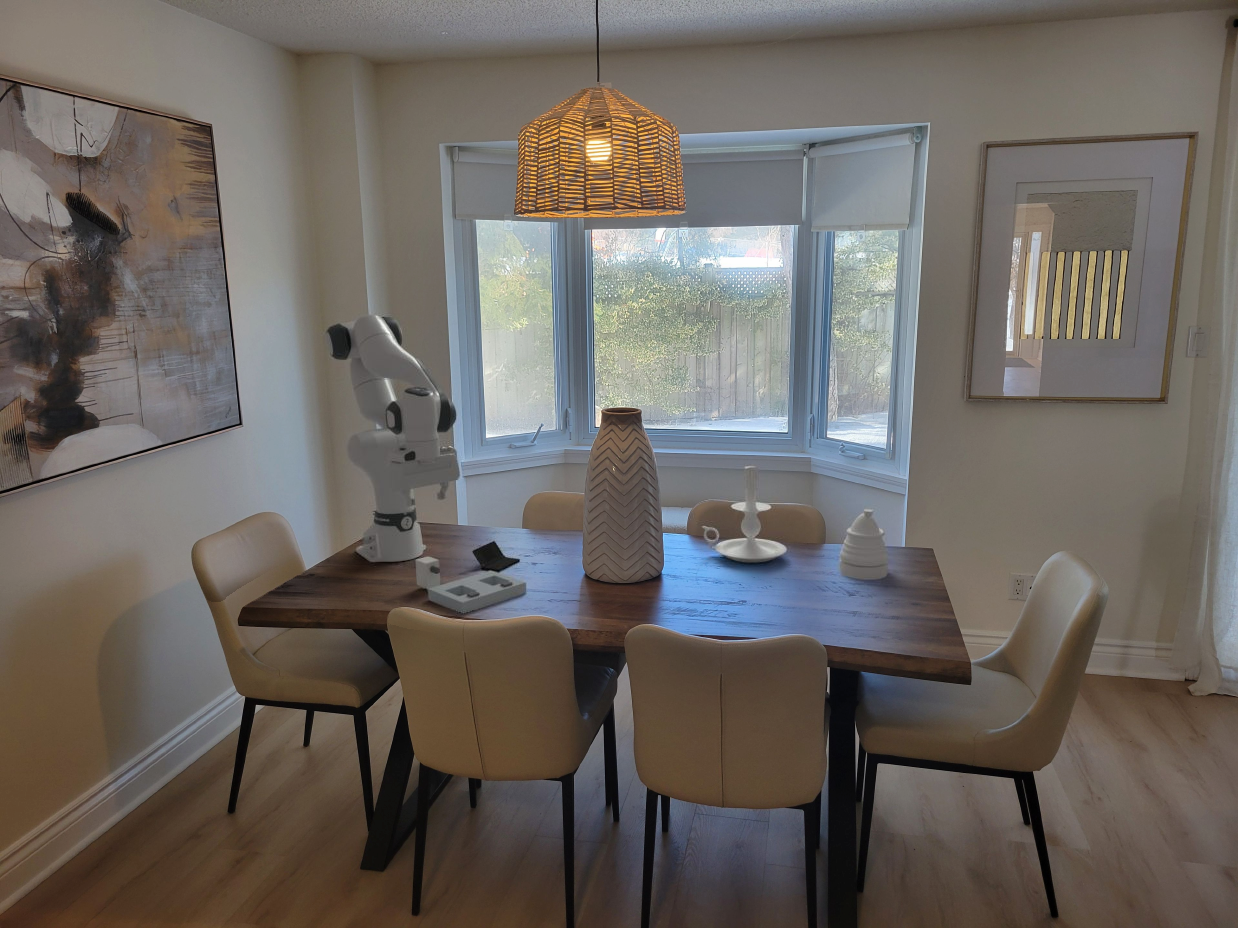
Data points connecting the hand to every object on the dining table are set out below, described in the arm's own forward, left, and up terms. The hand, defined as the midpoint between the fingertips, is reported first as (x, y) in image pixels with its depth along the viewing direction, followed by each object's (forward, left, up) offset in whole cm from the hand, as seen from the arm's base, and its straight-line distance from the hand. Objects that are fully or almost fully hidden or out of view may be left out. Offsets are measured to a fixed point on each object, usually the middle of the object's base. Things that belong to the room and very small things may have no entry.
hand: (426, 502), depth 225 cm
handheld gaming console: (-3, +24, -24) cm, 34 cm away
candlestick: (+46, +76, -24) cm, 92 cm away
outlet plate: (+15, +4, -24) cm, 28 cm away
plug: (0, -1, -24) cm, 24 cm away
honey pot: (+79, +87, -24) cm, 120 cm away
